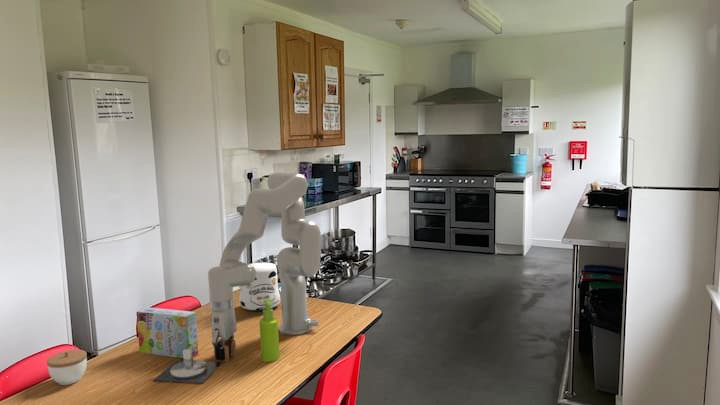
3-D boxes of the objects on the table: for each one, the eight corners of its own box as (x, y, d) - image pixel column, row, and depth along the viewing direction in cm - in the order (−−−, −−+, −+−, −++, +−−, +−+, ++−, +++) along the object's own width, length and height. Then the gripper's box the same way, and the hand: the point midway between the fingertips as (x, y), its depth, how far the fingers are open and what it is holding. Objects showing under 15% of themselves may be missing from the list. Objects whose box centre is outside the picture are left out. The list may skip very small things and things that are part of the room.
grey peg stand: (222, 363, 170) (220, 341, 169) (202, 383, 157) (201, 359, 156) (176, 361, 173) (174, 339, 172) (153, 381, 159) (151, 357, 158)
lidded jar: (95, 371, 167) (92, 343, 166) (78, 388, 156) (74, 358, 155) (61, 373, 167) (58, 345, 165) (42, 389, 156) (38, 359, 155)
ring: (239, 352, 178) (238, 338, 178) (231, 361, 171) (230, 347, 171) (219, 351, 179) (219, 338, 179) (211, 360, 173) (210, 346, 172)
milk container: (261, 317, 212) (258, 274, 210) (231, 310, 222) (228, 269, 219) (289, 304, 227) (287, 264, 224) (260, 298, 236) (257, 260, 234)
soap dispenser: (265, 364, 169) (262, 305, 166) (259, 356, 175) (256, 299, 172) (282, 360, 171) (280, 301, 169) (276, 352, 177) (273, 296, 175)
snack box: (199, 353, 179) (196, 311, 177) (189, 360, 174) (186, 316, 172) (149, 346, 186) (146, 306, 184) (138, 353, 181) (134, 311, 178)
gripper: (221, 313, 164) (225, 366, 166) (242, 295, 181) (245, 344, 183) (199, 312, 165) (203, 365, 167) (222, 295, 182) (225, 344, 184)
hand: (225, 354), depth 175 cm, fingers closed on ring, 7 cm apart
